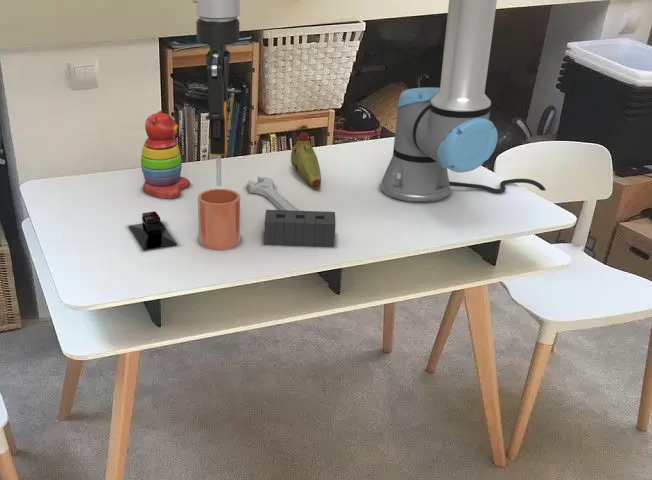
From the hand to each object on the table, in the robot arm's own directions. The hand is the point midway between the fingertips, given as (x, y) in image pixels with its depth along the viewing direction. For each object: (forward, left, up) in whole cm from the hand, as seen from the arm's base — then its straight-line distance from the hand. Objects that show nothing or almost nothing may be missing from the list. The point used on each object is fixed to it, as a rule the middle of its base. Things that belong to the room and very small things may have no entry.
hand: (218, 150), depth 144 cm
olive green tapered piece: (-17, -37, -19) cm, 45 cm away
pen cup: (0, 0, -19) cm, 19 cm away
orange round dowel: (0, 0, -7) cm, 7 cm away
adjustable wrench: (-10, -21, -19) cm, 30 cm away
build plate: (+14, -1, -19) cm, 24 cm away
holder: (-16, -2, -19) cm, 25 cm away
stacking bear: (+16, -27, -19) cm, 37 cm away
